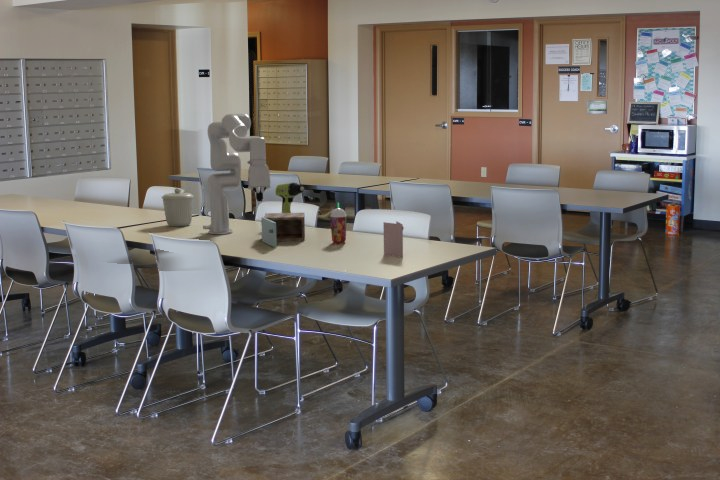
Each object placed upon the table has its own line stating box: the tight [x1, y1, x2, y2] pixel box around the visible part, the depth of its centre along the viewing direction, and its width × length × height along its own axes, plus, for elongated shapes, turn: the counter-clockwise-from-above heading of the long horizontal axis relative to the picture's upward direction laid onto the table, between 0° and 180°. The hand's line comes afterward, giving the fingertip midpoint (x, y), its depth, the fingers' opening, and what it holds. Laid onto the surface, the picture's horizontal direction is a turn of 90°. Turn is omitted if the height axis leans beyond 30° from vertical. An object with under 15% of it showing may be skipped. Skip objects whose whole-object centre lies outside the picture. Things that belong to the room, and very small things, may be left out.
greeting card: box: [383, 220, 405, 258], centre depth 429 cm, size 11×7×15 cm, turn 12°
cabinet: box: [264, 212, 306, 242], centre depth 481 cm, size 20×16×12 cm
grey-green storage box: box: [260, 216, 278, 248], centre depth 463 cm, size 21×3×12 cm, turn 23°
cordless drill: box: [274, 182, 305, 213], centre depth 512 cm, size 23×7×25 cm, turn 40°
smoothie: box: [329, 202, 348, 245], centre depth 464 cm, size 8×8×20 cm
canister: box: [161, 187, 195, 228], centre depth 529 cm, size 18×18×21 cm
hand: (259, 201), depth 456 cm, fingers closed
